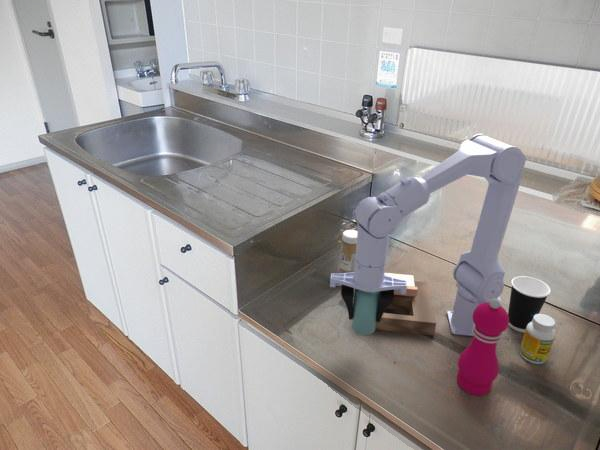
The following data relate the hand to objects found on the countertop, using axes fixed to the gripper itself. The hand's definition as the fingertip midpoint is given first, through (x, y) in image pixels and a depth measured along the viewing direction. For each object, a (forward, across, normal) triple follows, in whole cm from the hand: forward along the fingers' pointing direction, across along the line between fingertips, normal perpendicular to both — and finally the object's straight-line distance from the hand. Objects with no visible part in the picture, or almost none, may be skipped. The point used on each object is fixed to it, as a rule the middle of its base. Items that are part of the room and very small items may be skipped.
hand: (364, 317), depth 91 cm
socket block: (+9, -8, -16) cm, 20 cm away
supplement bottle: (+9, -36, -5) cm, 38 cm away
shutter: (+6, -8, -21) cm, 23 cm away
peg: (+2, 0, 0) cm, 2 cm away
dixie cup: (+9, -36, -15) cm, 40 cm away
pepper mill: (+9, -22, +5) cm, 24 cm away
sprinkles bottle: (+9, +4, -28) cm, 30 cm away
